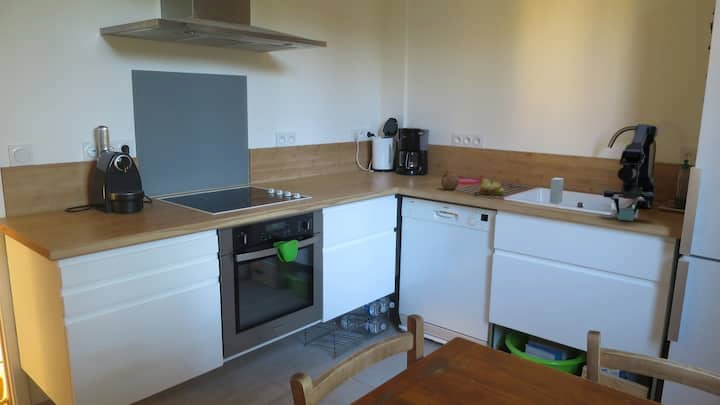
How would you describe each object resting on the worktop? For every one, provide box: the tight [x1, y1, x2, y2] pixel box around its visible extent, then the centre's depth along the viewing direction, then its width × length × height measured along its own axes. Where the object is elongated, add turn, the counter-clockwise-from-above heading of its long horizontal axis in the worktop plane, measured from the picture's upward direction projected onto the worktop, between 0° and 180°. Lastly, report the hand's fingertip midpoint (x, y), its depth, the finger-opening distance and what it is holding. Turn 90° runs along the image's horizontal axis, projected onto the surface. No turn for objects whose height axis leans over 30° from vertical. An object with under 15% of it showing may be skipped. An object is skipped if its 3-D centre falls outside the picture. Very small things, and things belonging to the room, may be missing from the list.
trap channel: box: [609, 202, 639, 219], centre depth 230 cm, size 15×10×3 cm, turn 157°
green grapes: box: [479, 177, 505, 196], centre depth 272 cm, size 13×10×8 cm
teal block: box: [617, 206, 635, 222], centre depth 219 cm, size 6×6×4 cm
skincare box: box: [548, 177, 565, 205], centre depth 251 cm, size 6×4×12 cm
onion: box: [440, 173, 459, 191], centre depth 284 cm, size 10×9×10 cm
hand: (625, 214), depth 219 cm, fingers closed on teal block, 5 cm apart
